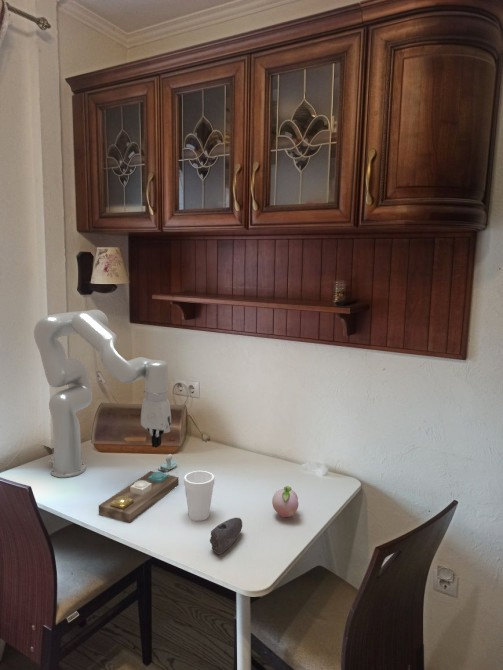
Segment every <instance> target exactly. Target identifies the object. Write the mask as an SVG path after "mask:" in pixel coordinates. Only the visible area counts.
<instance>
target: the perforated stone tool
mask: <svg viewBox="0 0 503 670" xmlns="http://www.w3.org/2000/svg"><path fill="white" fill-rule="evenodd" d="M242 520H243V519H241V517H233V518H229V519H227V520H225V521H223V522H222V523H219V524H218V525H217V526H215V527H214V528H213V529H212V530H211V531H210V538H209V543H210V545H211V549H212V551H214V553H216V554H217V555H221V554H223V553H224V552H225V551H227V550H228V549H229V548H230V547H231V546H232V545H233V544H234V542H236V540H237V538H238V537H239V536H240V533H241V532H242V529H243V521H242Z"/></svg>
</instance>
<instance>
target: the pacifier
mask: <svg viewBox="0 0 503 670" xmlns="http://www.w3.org/2000/svg"><path fill="white" fill-rule="evenodd" d="M177 465H178V461H177V460H173V455H172V454H171V453H169V454H168V455H166V458H165V463H163V464H161V465H159V466H158V470H159V471H165V470H168V471H171V470H172V469H173V468H175V467H176V466H177ZM170 469H171V470H170Z"/></svg>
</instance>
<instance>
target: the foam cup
mask: <svg viewBox="0 0 503 670" xmlns="http://www.w3.org/2000/svg"><path fill="white" fill-rule="evenodd" d="M183 485H184V489H185V490H184V491H185V497H186V504H187V512H188V517H189V520H192V521H196V522H202V521H205V520H207V519H208V518H209V516H210V514H211V513H210V511H211V505H212V497H213V491H214V485H215V475H214V474H213V473H212V472H210V471H206V470H194V471H190V472H188V473H186V474H185V475H184V477H183Z"/></svg>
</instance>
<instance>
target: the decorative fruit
mask: <svg viewBox="0 0 503 670" xmlns="http://www.w3.org/2000/svg"><path fill="white" fill-rule="evenodd" d="M271 504H272V508H273V510H274V511H275V512H276V514H278V516H281V517H283V518H289V517H293V516H294V515H295V514H296V513H297V510H298V509H299V497H298V495H297V493H296V491H295V490H293V489H292V487H291V486H288V485H287V486H284V487H283V488H281V489H279V490H277V491H276V492H274V494H273V496H272V501H271Z"/></svg>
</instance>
